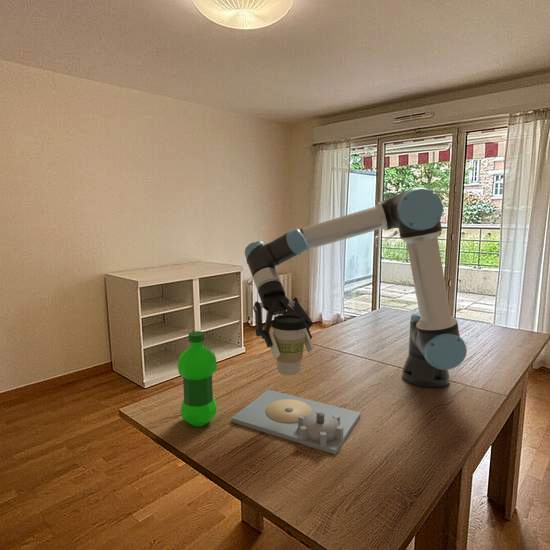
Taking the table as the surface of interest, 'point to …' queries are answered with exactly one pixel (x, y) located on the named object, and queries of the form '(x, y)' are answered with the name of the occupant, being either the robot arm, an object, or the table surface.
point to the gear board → (299, 420)
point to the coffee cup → (289, 342)
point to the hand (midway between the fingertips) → (294, 353)
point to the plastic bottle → (197, 381)
